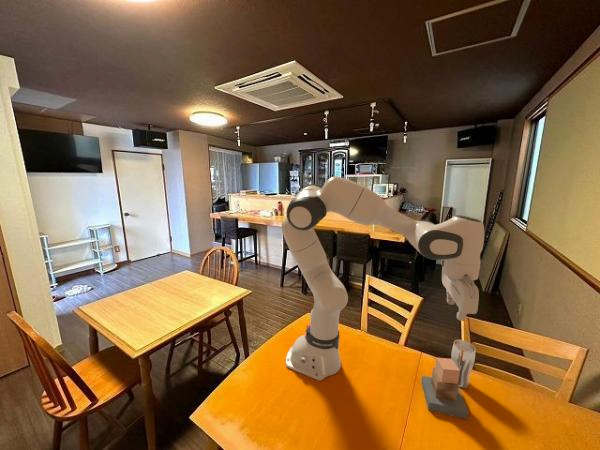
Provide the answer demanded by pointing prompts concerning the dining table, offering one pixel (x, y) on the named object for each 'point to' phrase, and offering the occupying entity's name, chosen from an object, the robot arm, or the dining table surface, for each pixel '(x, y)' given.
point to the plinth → (443, 401)
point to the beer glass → (463, 360)
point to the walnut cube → (444, 388)
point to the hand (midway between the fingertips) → (455, 311)
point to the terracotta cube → (447, 370)
